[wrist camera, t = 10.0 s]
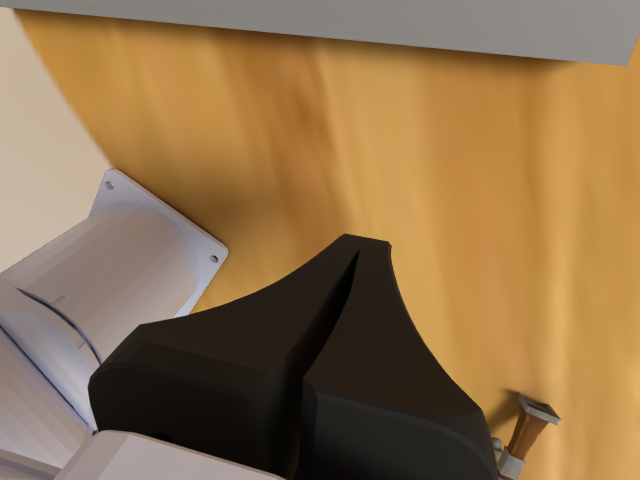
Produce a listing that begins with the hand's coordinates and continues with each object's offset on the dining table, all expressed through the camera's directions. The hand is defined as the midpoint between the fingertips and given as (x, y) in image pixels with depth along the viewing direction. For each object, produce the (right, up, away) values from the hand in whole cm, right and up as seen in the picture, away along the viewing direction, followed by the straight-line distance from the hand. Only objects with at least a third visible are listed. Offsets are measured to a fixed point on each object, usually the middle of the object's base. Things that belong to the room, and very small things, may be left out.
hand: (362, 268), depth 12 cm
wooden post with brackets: (+10, -11, +15) cm, 21 cm away
